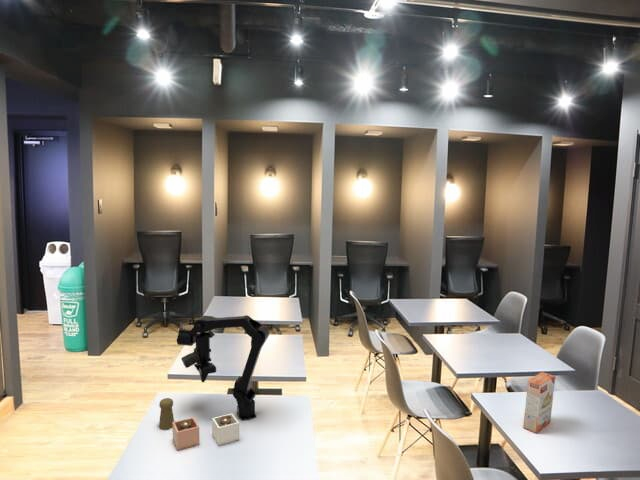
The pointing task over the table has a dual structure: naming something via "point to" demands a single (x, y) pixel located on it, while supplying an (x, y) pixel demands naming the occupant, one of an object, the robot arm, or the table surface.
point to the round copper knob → (225, 420)
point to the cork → (166, 414)
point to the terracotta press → (185, 434)
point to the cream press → (225, 430)
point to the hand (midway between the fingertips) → (203, 381)
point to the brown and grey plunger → (185, 424)
